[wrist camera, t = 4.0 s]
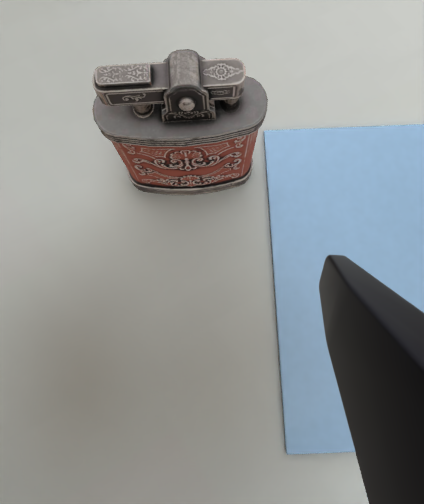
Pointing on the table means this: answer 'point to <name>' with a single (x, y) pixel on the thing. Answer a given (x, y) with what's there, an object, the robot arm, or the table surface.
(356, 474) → the table surface
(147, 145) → the lighter
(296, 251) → the blue square mat
